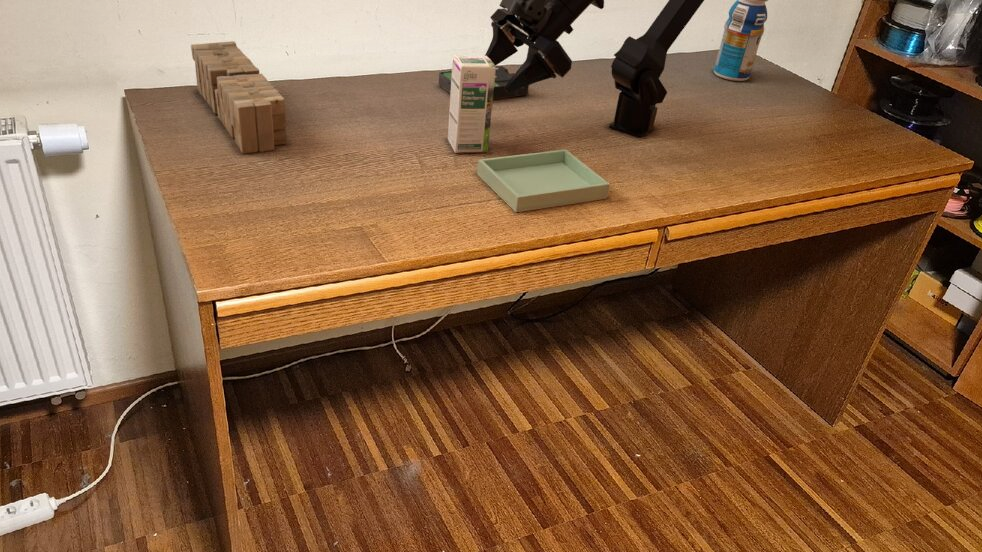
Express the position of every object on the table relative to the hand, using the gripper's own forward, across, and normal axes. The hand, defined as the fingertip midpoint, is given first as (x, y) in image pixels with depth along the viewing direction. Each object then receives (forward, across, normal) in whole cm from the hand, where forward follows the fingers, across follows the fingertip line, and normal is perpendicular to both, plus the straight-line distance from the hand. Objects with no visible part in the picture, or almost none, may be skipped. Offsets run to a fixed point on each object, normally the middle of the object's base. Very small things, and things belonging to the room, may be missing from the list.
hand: (493, 80), depth 130 cm
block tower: (+34, -20, -18) cm, 43 cm away
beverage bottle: (-44, -21, +59) cm, 76 cm away
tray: (+7, +17, +9) cm, 20 cm away
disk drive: (0, -24, +16) cm, 28 cm away
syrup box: (+10, 0, +5) cm, 12 cm away
